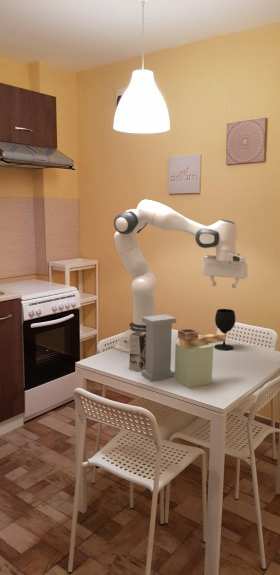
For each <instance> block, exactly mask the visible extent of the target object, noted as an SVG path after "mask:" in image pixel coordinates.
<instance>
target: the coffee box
mask: <svg viewBox="0 0 280 575" xmlns="http://www.w3.org/2000/svg"><path fill="white" fill-rule="evenodd" d="M128 367H129V369H132V370H134V371H139V372H141V371H144V370H146V331H140V330H139V331H137V332H135V333H132V334H130V353H129V366H128Z"/></svg>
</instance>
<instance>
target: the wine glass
mask: <svg viewBox="0 0 280 575" xmlns="http://www.w3.org/2000/svg"><path fill="white" fill-rule="evenodd" d="M214 317H215V318H214V321H215V322H214V323H215V326H216V328H217V329H218V330H219V332H222V333H224V334H226V335H227V334H228V332H230V331H231V330H233V328H234V327H235V324H236V312H235V310H233V309H231V308H230V309H228V308H219V309H217V310H216V313H215V316H214ZM213 349H216V350H217V351H224V352H225V351H232V350H234V349H235V348H234V346H233V345H231V344H227V343H226V341H222V343H218V344H217V343H216V344H214V346H213Z"/></svg>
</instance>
